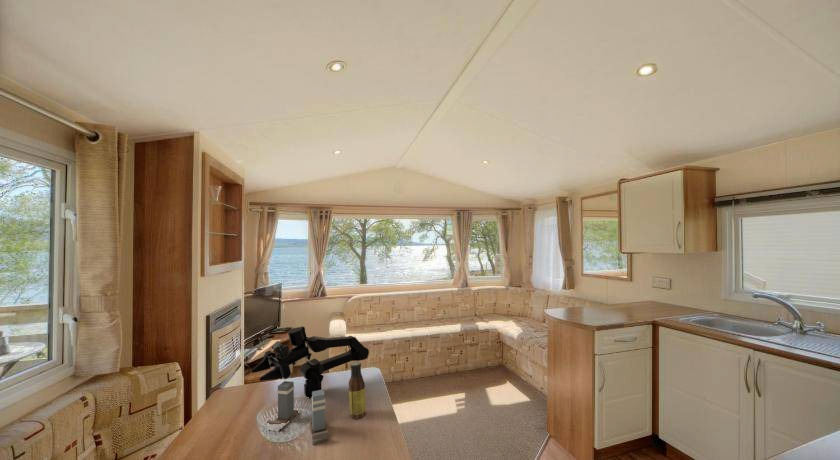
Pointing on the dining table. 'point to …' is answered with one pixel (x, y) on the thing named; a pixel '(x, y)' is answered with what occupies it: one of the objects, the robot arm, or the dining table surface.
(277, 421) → the rail
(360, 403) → the sauce bottle
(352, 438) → the dining table surface
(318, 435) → the rail
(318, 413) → the two stripe post
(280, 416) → the one stripe post
